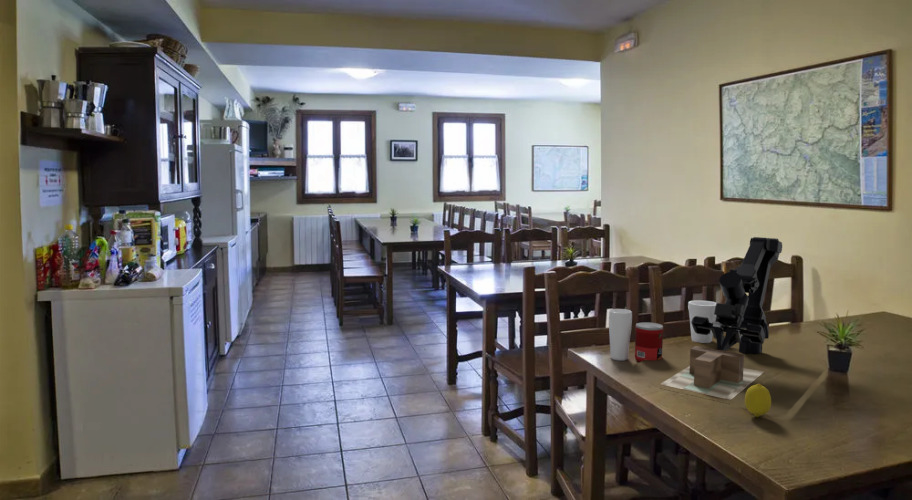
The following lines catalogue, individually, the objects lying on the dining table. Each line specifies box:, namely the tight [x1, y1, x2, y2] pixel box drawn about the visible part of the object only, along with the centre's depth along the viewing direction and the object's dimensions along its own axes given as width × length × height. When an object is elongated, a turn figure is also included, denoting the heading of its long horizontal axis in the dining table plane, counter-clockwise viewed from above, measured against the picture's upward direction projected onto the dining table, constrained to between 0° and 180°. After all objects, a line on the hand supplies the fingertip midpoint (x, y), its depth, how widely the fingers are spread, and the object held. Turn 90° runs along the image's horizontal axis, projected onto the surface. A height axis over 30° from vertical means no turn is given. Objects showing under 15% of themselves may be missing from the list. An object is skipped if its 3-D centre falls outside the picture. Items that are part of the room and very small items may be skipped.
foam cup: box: [687, 299, 717, 344], centre depth 214 cm, size 10×9×13 cm
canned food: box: [634, 322, 664, 363], centre depth 191 cm, size 8×8×11 cm
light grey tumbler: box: [608, 308, 633, 362], centre depth 192 cm, size 7×7×15 cm
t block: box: [689, 345, 745, 388], centre depth 169 cm, size 13×13×7 cm
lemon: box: [744, 383, 772, 418], centre depth 146 cm, size 6×6×8 cm
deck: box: [659, 365, 765, 405], centre depth 171 cm, size 29×18×1 cm, turn 139°
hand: (719, 354), depth 173 cm, fingers closed, pressing on t block
